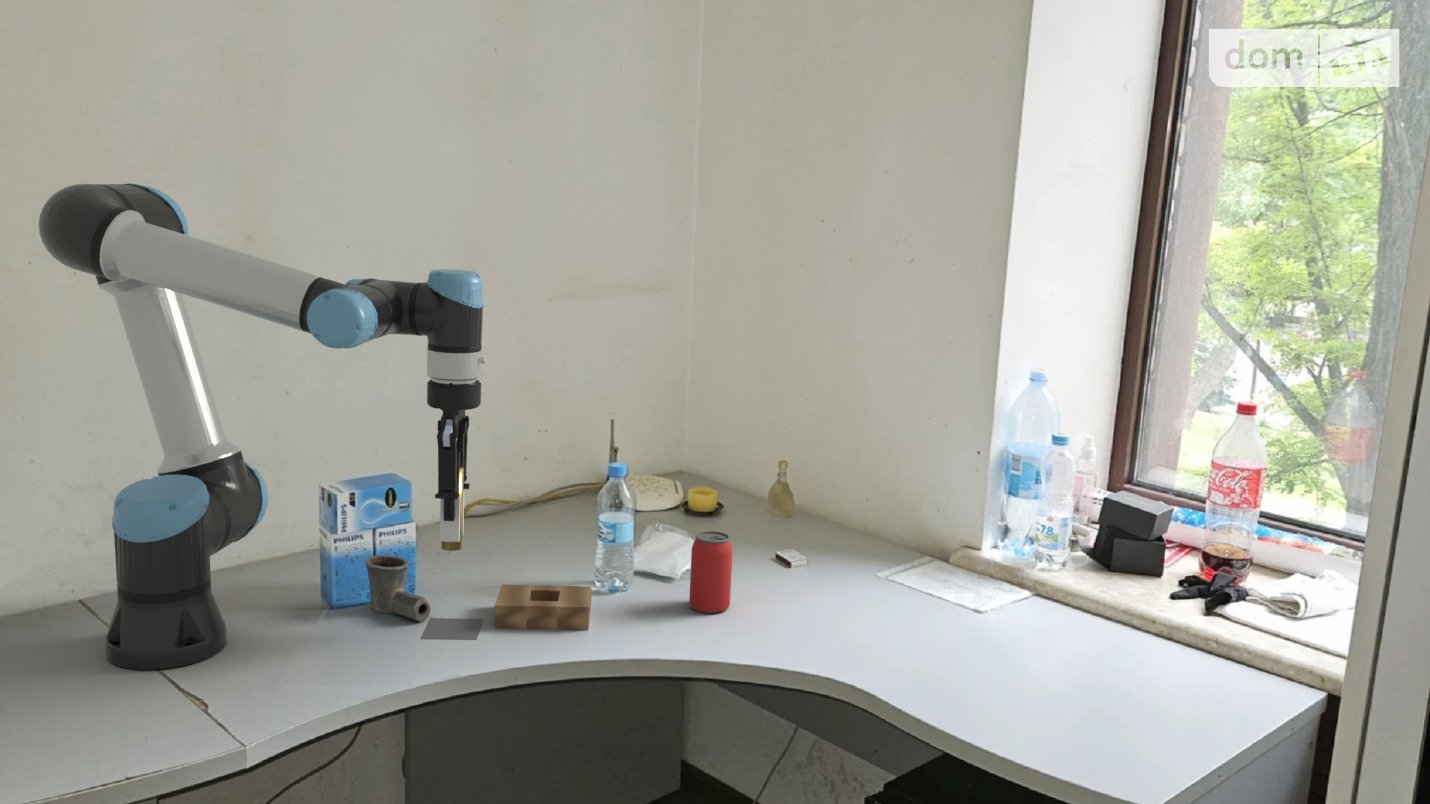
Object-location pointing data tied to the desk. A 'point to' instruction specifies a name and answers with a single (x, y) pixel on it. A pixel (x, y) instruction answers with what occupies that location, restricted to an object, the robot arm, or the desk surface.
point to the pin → (458, 545)
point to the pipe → (394, 588)
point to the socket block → (543, 607)
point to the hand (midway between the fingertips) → (451, 536)
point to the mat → (452, 629)
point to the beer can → (711, 572)
